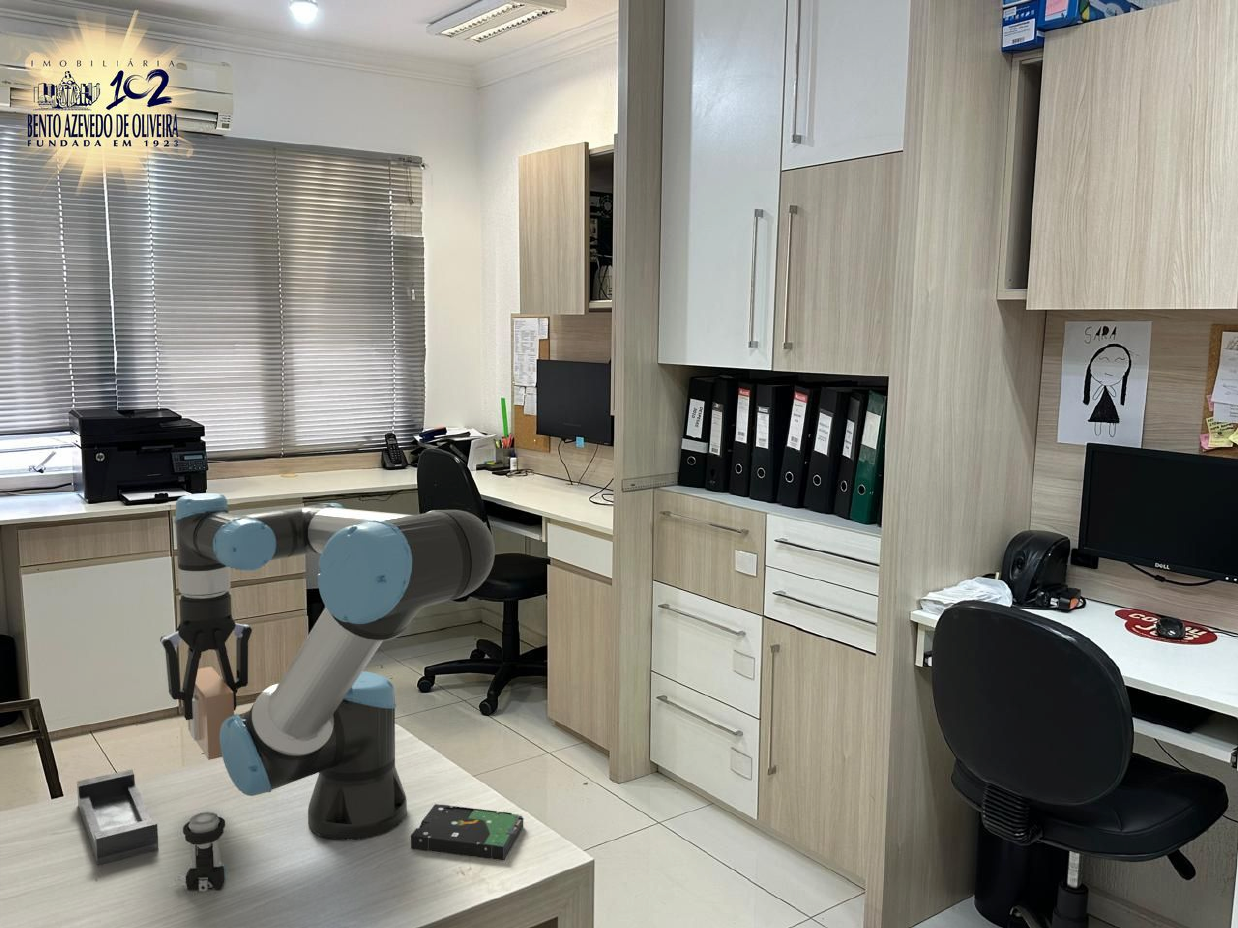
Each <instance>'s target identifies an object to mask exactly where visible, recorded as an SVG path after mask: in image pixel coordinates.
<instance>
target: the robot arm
mask: <svg viewBox="0 0 1238 928" xmlns="http://www.w3.org/2000/svg"><path fill="white" fill-rule="evenodd" d="M229 512H230V508H229V505H228V499H227V498H226V496H225V495H223V494H221V493H212V492H210V493H208V492H205V493H203V492H202V493H191V494H186V495H183V496H180V497H179V498H178V499H177V500H176V502H175V519H174V523H175V535H176V537H175V538H176V554H177V569H178V570H177V571H178V573H177V574H178V577H177V578H178V592H179V593H181V594H180V596H179V597H178V600H179V601H178V603H179V624H178V627H177V629H176V631H175V632H173V633H171V634H168V635H162V636H161V637H160V638H159V640H160V643H161V645H162V647H163V650H164V652H165V653H164V654H165V662H166V663H165V664H166V673H167V674H166V675H167V683H168V684H167V685H168V693H169V695H170V696H171V698H172V699H173V700H181V701H182V704H181V705H182V716H183V718H184V719H185V721H188V720H190V727H191V733H190V736H191V738H192V739H193V740H194V741H195V742H196V740H200V736H199V713H198V700H197V698H196V697H195V696H194V695H193V694H194V689H195V683H196V677H197V672H198V669H199V664H200V661H201V658H202V654H203V652H207V651H215V654H216V658H217V662H218V665H219V669H220V672H221V676H222V677H221V678H222V680H223V681H224V682H225V683H226V684H227V685H228V687H229V688H230V689H231V690H232V691H233V698H234V712H235V711H236V709H237V694H238V690H239V689H241V688H245V687H246V686H248V683H249V640H250V637H251V635H252V632H253V628H252V627H250V626H249V624H247V623H242V624H241V623H237V622H235V621H236V620H234V618H233V614H232V613H233V612H232V594H231V591H230V588H231V587H232V585H231V569H235V570H238V571H256V570H259V569H262V567H264V566H265V565H266V564H268V563H269V562H270V561H275V560H281V559H285V558H289V557H295V556H297V557H298V556H302V555H311V554H313V555H319V556H320V557H319V560H318V568H319V569H320V573H318V574H317V585H318V590H319V594H320V598H321V599H322V602H323V604H324V608H323V610H322V612H321V614H320V615H319V617H318V619H317V620H316V622H315V623H314V625H313V627H312V628H311V630H310V632H309V634H308V635H307V637H306V638H305V640H304V641H303V643H302V645H301V646H300V648H299V650H298V652H297V653H296V654H295V656H294V658H293V660H292V662H291V663H290V664H289V667H287V670H286V671H285V673H284V675H283V676H282V678H281V680H280V681H279V683H275V684H273V685H270V686H269V687H267V688H266V689H264V690H262V692H261V693H260V694H259V695H258V696H257V698H256V700H255V701H254V703H253V704H252V706H251V708H250V709H249V710H247V711H245V712H244V713H243V712H242V713H240V714H238V713H234V716H232V717H230V718H227V719H226V720H225V721H224V722H223V724H222V726H221V729H220V747H221V752H222V757H221V758H222V761H223V763H224V767H225V769H226V771H227V773H228V774H227V775H228V776H229V778H230V780H231V782H232V783H233V784H234V786H235V787H236V789H237V790H238V791H240V792H241V793H242V794H243V795H246V796H250V797H254V796H257V795H263V794H265V793H271V792H272V791H273V790H275V789H278V788H281V787H284V786H287V785H289V784H291V783H294V782H298V781H300V780H302V779H305V778H308V777H310V776H312V775H313V776H314V775H316V774H318V776H317V779H316V782H315V785H314V787H313V788H314V789H313V791H312V795H311V798H310V801H309V803H308V809H307V821H308V826H309V828H310V830H311V831H312V832H313V833H314V834H317V835H319V836H321V837H323V838H327V839H330V840H336V841H337V840H338V841H357V840H365V839H370V838H373V837H374V838H375V837H377V836H378V837H379V836H381V835H383V834H386V833H389V832H390V831H392V830H394V829H396V828H397V827H398V826H399V825H400V824H402V822H403V821H404V820H405V819H406V817H407V813H408V812H407V809H408V807H407V806H408V805H407V804H408V801H407V795H406V792H405V790H404V787H403V784H402V782H401V779H400V776H399V774H398V770H397V768H396V724H395V722H396V718H395V715H396V713H395V712H396V708H397V704H396V698H395V688H394V685H393V683H392V681H391V680H390V679H389V678H387V677H386V676H384V675H381V674H378V673H375V672H370V671H366V670H365V668H366V667H367V665H368V664H369V662H370V661H371V660H372V658H373V656H374V655H375V653H376V652H377V651H378V649H379V647H380V646H381V645H382V643H383V642H385V641H390V640H393V639H395V638H397V637H399V636H400V635H401V634H402V633H404V632H405V630H406V629H407V627H408V626H409V625H410V623H411V622H412V621H413V619H414V618H415V617H416V615H417V614H418V612H419V611H420V610H422V609H424V608H425V607H430V606H434V605H438V604H442V603H445V602H449V601H452V600H453V601H454V600H457V599H460V598H463V597H466V596H468V595H469V594H471V593H473V592H474V591H476V590H477V589H478V588H480V587H481V586H482V584H483V583H484V582H485V581H486V579H487V578H488V576H489V575H490V573H491V571H492V569H493V566H494V561H495V556H496V555H495V554H496V552H495V551H496V549H495V548H496V547H495V543H494V538H493V535H492V533H491V531H490V529H489V528H488V527H487V525H486V524H485V523H484V521H482V519H480V518H479V517H477V516H476V515H474V514H473V513H471V512H469V511H464V510H460V509H436V510H435V509H434V510H430V511H427V512H425V513H420V514H419V513H418V514H405V513H394V512H382V511H372V510H371V511H370V510H362V509H351V508H344V506H343V505H342V504H340V503H339V502H338V503H336V502H330V503H327V502H323V503H320V502H319V503H315V504H312V505H306V506H300V507H293V508H292V507H291V508H287V509H286V508H285V509H277V510H270V511H269V510H268V511H262V512H253V513H247V514H233V513H229ZM233 631H234V636H235V637H236V643H235V644H236V647H235V649H236V653H235V654H236V655H235V658H236V660H235V663H236V664H235V665H236V666H235V667H236V674H235V677H234V675H233V670H232V666H231V663H230V662H231V661H230V660H229V656H228V649H227V647H226V642H227V641H228V640H229V637H230V636H231V634H232V633H233ZM180 640H182V641H183V642H184V643H185V644H186V645H187V646H188V649H187V660H186V666H185V672H184V677H183V683H182V687H180V673H179V663H178V653H177V648H178V647H179V641H180ZM364 670H365V671H364Z"/></svg>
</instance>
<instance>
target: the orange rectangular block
mask: <svg viewBox="0 0 1238 928" xmlns="http://www.w3.org/2000/svg"><path fill="white" fill-rule="evenodd" d="M193 695H194V696H195V697H196V698H197V700H198V713H199V736H200V740H196V741H195V742H196V743H197V745H198V746H199V748H200V749H201V751H202V753H203V754H204V755H205V757H206V759H207V760H208V761H210V760H215V759H218V758H219V759H220V758H223V757H222V752H221V747H220V729H221V726H222V724H223V722H224V721H225V720H226V719H227V718H230V717H232V716H234V715H235V711H234V698H233V691H232V690H231V689H230V688H229V687H228V685H227V684H226V683H225V682H224V681H223V677H221V676H220V675H219V674H218V672H217V671H216V670H215V669H214V668H213V667H212V666H207V667H201V668H198V672H197V677H196V683H195V689H194V694H193ZM187 729H188V731H189V733H190V734H191V727H190V720H187Z"/></svg>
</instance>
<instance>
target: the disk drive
mask: <svg viewBox="0 0 1238 928" xmlns="http://www.w3.org/2000/svg"><path fill="white" fill-rule="evenodd" d="M523 829H524V817H523V815H519V814H518V813H512V812H508V811H497V810H489V809H480V808H473V807H466V806H465V807H464V806H458V805H457V806H455V805H450V804H437V803H435V804H434V805H433V806H432V808H431V809H430V810H429V811H428V812H427V814H426V815H425V816H424V818H423V819H422V820H421V822H420V825H419V827H418V828H415V829H414V830H413V832H412V833H411V834H410V850H418V851H421V852H422V851H423V852H433V853H442V854H450V855H458V856H463V857H464V856H465V857H472V858H473V857H474V858H479V859H487V860H496V861H497V860H498V861H505V860H506V859H507V857H508V855H509V853H510V852H511V850H512V848H513V846H514V844H515V843H516V841H517V840H518V837H519V836H520V834H521V832H522V830H523Z"/></svg>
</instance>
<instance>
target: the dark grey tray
mask: <svg viewBox="0 0 1238 928" xmlns="http://www.w3.org/2000/svg"><path fill="white" fill-rule="evenodd" d="M135 779H136V778H135V773H134V770H133V769H128V770H124V771H119V772H114V773H110V774H105V775H102V776H101V775H100V776H97V777H92V778H87V779H84V780H78V781H76V787H77V790H76V791H77V805H78V809H79V812H80V815H81V817H82V820H83V821H82V822H83V825H84V828H85V829H86V833H87V837H88V839H89V843H90V845H91V849H92V851H93V854H94V858H95V862H96V865H97V866H101V865H104V864H108V863H112V862H116V861H120V860H123V859H126V858H131V857H134V856H138V855H142V854H145V853H149V852H152V851H154V852H155V851H156V850H159V833H158V832H159V831H158V823H157V820H156V818H154V817H153V818H152V817H151V815H150V814H149V811H148V809H147V806H146V804H145V802H144V800H143V798H142V796H141V793H140V792H139V791H140V790H139V788H138V787H137V785H136V782H135V781H136V780H135Z"/></svg>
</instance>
